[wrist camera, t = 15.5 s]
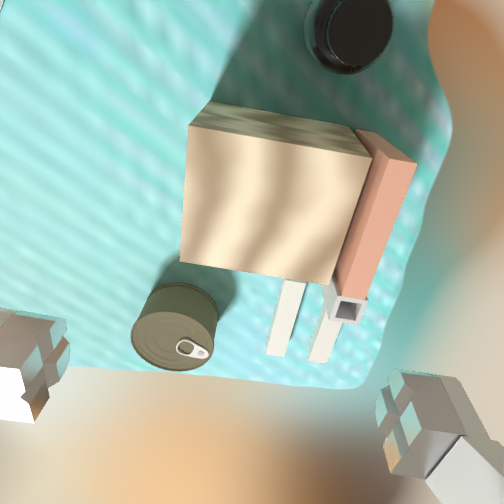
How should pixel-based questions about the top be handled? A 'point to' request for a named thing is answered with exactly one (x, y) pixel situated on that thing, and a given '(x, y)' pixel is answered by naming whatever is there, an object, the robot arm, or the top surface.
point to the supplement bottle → (348, 33)
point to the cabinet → (269, 192)
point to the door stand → (286, 317)
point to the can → (176, 328)
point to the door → (368, 228)
